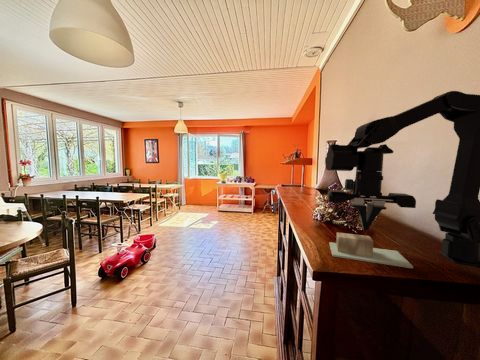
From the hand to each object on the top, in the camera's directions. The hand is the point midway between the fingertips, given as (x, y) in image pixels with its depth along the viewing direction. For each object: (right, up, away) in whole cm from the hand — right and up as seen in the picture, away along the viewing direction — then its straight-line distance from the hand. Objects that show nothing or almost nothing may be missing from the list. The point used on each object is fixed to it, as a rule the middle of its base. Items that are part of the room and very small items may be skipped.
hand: (365, 230), depth 53 cm
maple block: (+1, -4, 0) cm, 4 cm away
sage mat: (0, -7, 0) cm, 7 cm away
